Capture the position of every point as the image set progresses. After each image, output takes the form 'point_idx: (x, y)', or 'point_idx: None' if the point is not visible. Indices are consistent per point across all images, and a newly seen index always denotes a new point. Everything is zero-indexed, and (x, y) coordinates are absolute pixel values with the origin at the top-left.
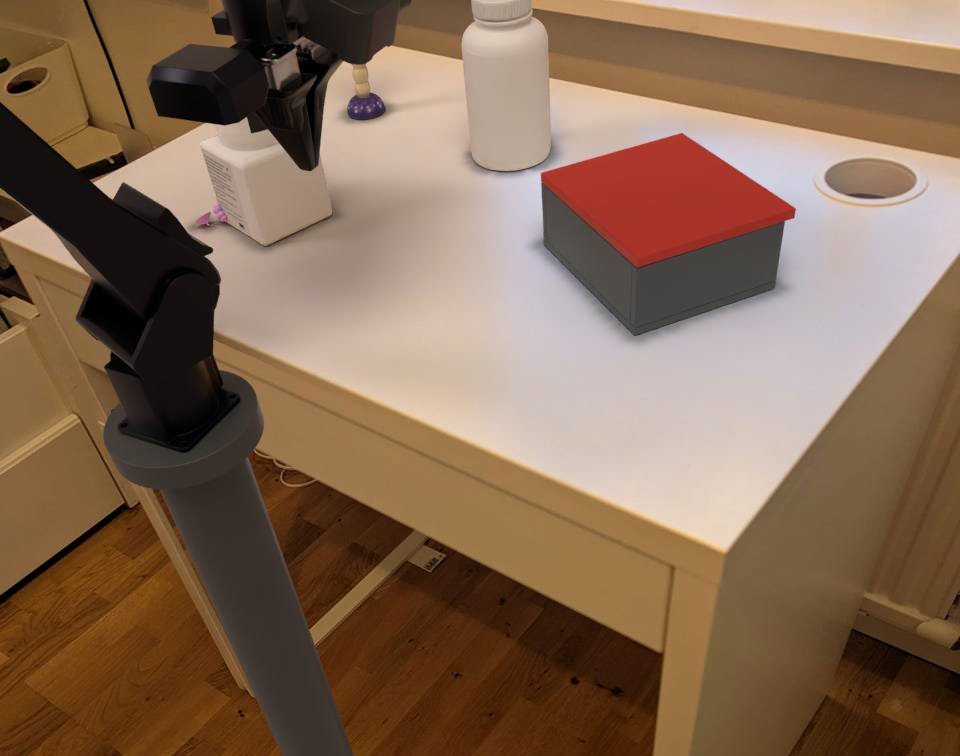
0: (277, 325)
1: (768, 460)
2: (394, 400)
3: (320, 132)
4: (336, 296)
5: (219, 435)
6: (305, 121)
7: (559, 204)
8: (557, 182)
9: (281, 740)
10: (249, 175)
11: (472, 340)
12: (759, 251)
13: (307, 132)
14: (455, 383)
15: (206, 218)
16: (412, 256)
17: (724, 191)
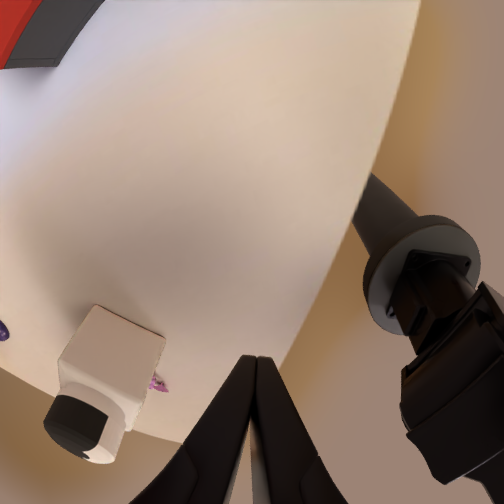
0: (285, 274)
1: None
2: (388, 91)
3: (213, 412)
4: (215, 239)
5: (453, 243)
6: (291, 475)
7: (34, 22)
8: (8, 34)
9: None
10: (140, 392)
11: (255, 40)
12: None
13: (283, 442)
14: (342, 33)
15: (160, 387)
16: (115, 193)
17: None
